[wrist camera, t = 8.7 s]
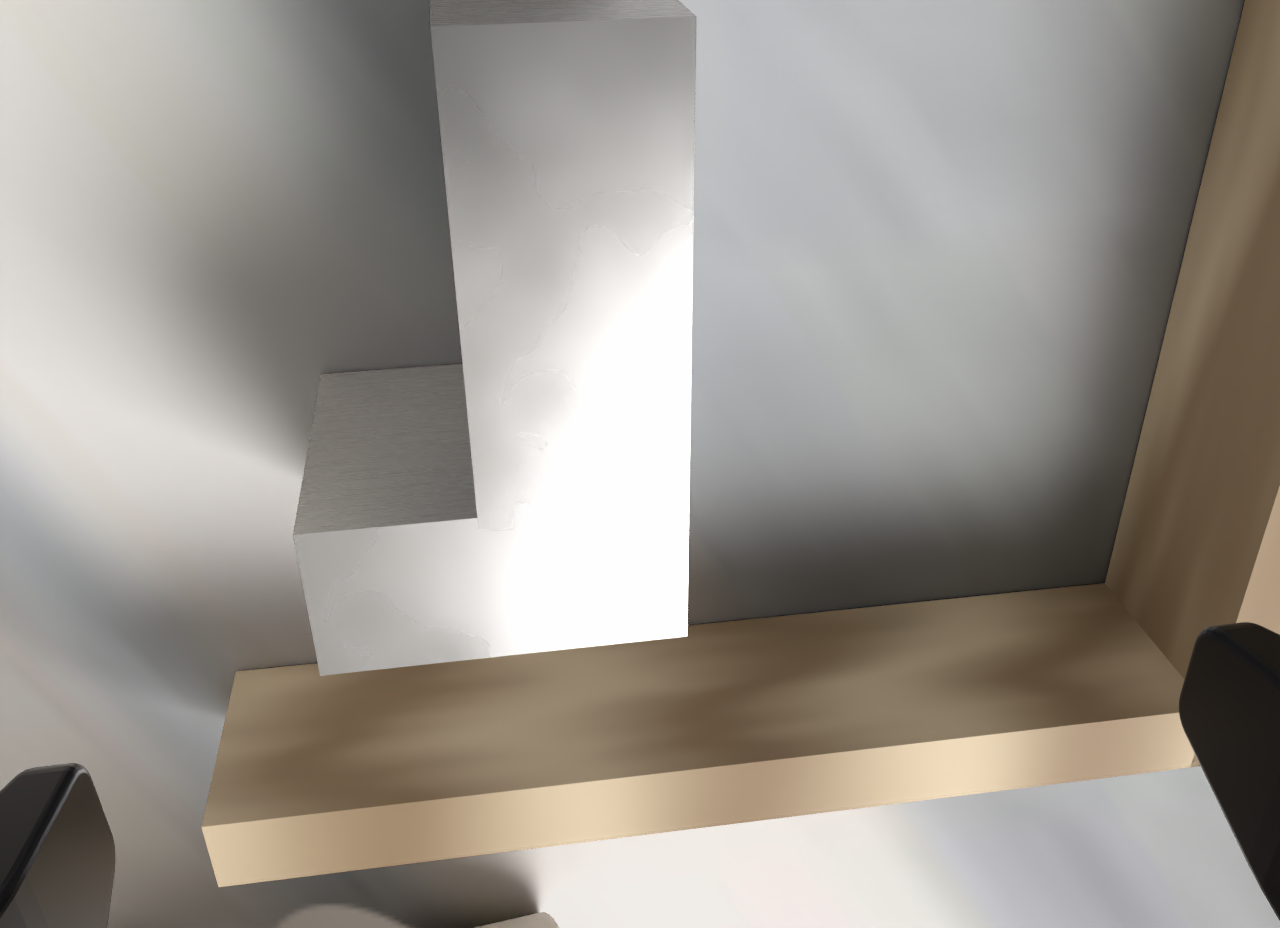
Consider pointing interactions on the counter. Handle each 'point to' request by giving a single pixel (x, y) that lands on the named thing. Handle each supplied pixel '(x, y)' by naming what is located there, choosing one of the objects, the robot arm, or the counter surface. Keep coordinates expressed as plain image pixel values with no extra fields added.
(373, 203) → the counter surface
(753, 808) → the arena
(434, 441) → the bracket
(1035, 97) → the counter surface
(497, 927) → the wall hook
